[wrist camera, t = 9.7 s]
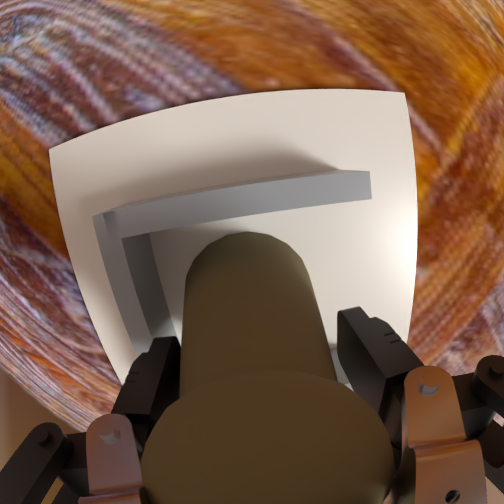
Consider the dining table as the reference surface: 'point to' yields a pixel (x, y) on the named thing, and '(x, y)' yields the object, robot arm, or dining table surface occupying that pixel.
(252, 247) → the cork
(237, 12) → the dining table surface
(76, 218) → the U-rest
